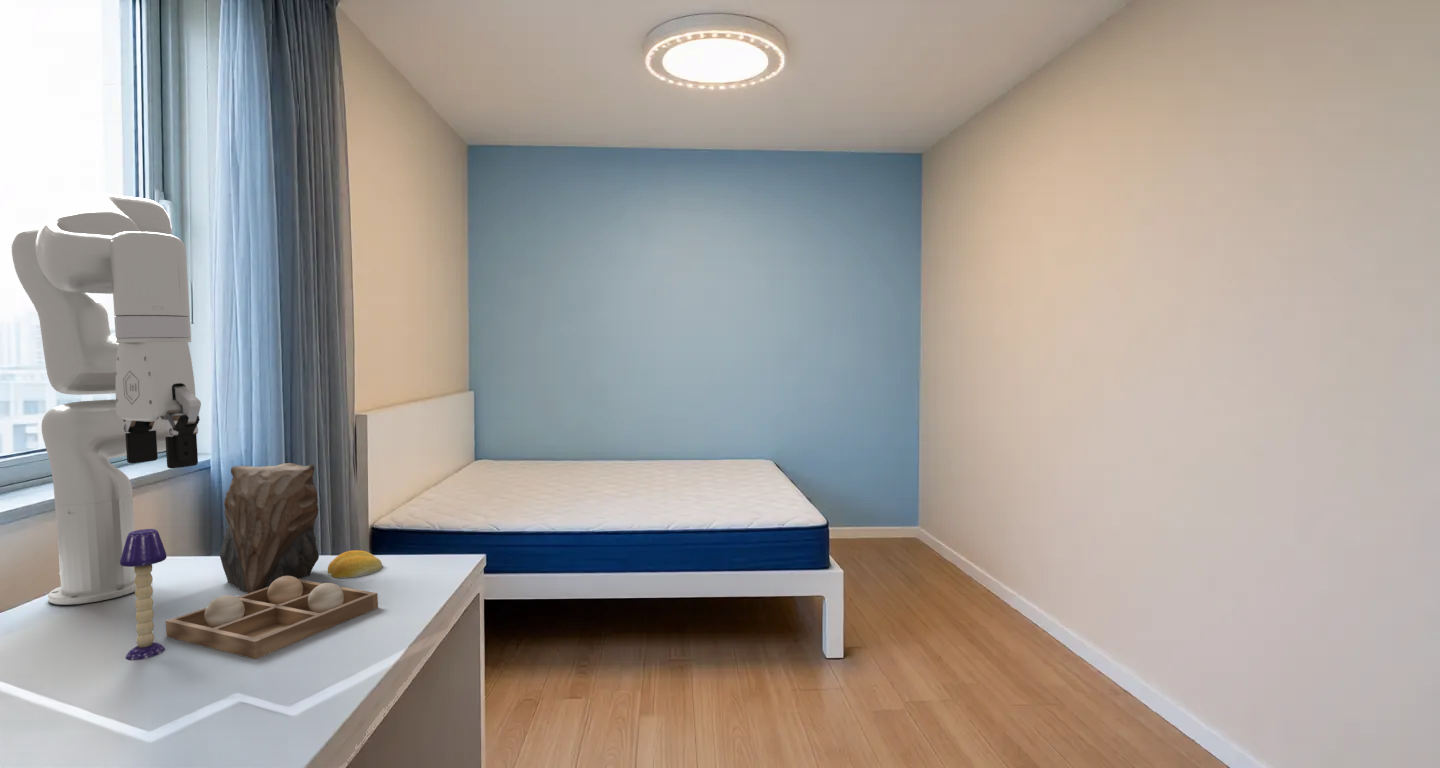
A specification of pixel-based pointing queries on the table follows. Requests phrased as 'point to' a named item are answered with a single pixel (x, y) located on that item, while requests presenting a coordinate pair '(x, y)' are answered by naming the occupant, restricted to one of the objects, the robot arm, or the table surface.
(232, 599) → the egg
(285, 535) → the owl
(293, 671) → the table surface
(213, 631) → the organizer
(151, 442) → the robot arm
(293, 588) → the egg
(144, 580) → the toy lamp
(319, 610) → the egg
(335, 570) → the bread roll
